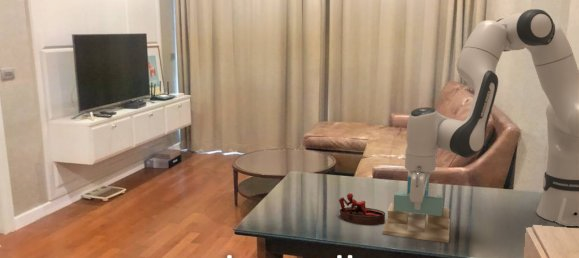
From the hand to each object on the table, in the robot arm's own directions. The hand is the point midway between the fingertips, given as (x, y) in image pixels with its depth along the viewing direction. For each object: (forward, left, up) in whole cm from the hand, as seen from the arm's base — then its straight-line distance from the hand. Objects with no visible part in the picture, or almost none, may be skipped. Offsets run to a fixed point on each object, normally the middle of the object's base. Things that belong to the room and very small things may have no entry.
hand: (417, 206), depth 146 cm
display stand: (0, -3, -8) cm, 9 cm away
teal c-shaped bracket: (0, -5, -2) cm, 5 cm away
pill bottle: (+2, -28, -8) cm, 30 cm away
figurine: (+18, -5, -8) cm, 20 cm away
